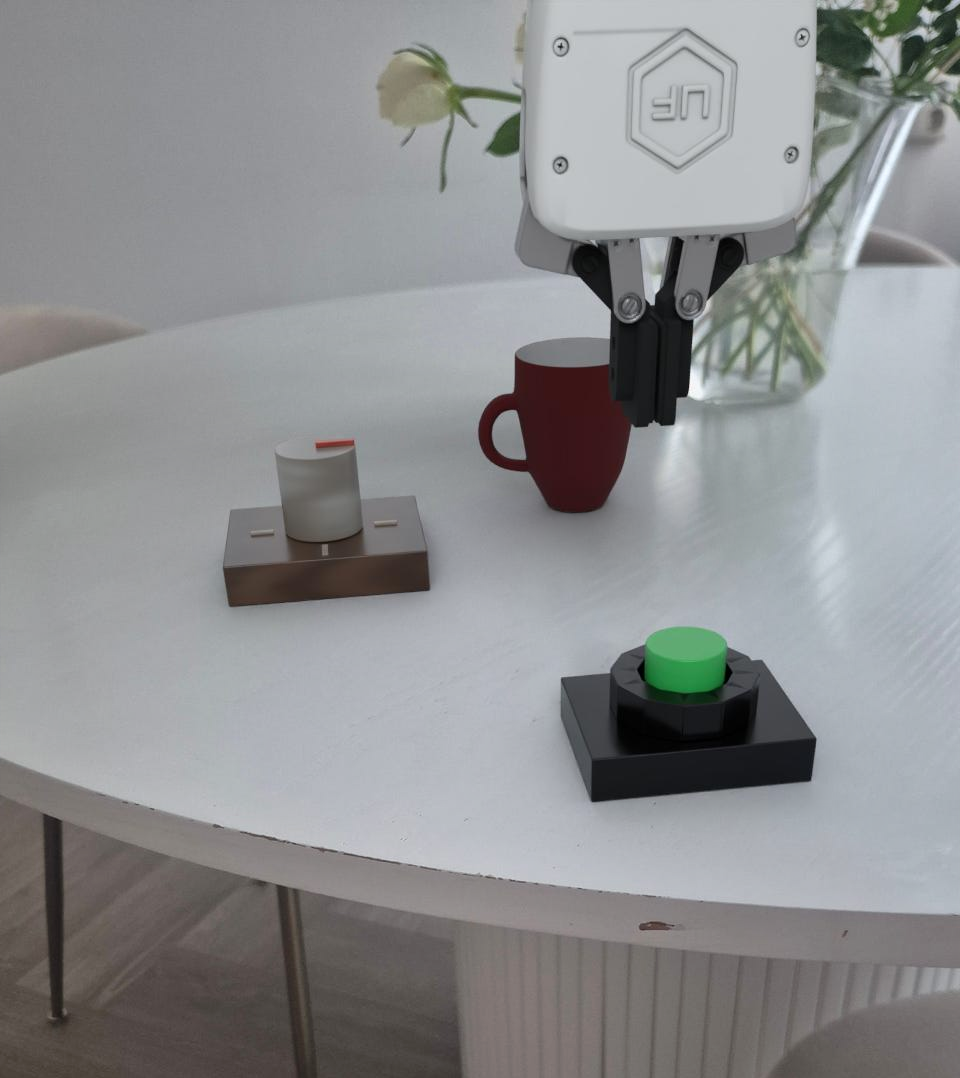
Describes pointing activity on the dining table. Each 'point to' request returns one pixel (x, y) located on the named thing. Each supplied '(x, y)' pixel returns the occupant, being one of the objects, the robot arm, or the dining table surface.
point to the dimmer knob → (319, 487)
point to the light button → (685, 659)
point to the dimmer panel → (325, 556)
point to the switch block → (683, 732)
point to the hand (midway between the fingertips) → (647, 416)
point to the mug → (564, 422)
